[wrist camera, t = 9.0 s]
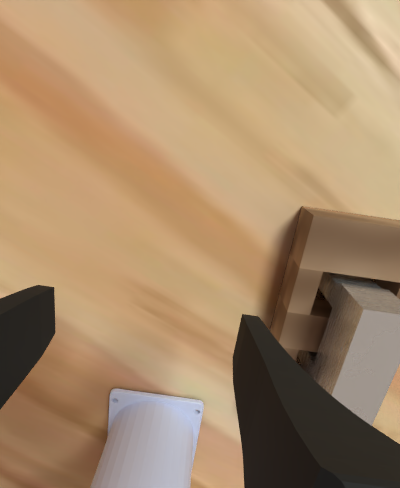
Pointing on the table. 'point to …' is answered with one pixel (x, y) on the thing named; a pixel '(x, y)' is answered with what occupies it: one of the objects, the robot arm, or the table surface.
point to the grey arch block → (356, 344)
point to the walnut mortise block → (331, 270)
